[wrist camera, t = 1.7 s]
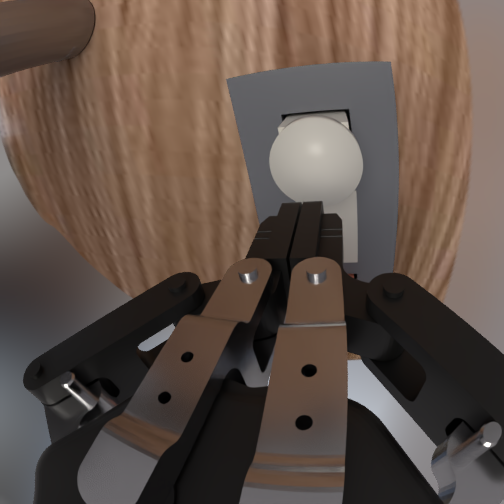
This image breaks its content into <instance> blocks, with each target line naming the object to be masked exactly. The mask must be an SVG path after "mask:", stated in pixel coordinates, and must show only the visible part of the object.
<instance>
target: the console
mask: <svg viewBox="0 0 504 504" xmlns="http://www.w3.org/2000/svg"><path fill="white" fill-rule="evenodd" d="M226 80H227V85H228V89H229V93H230V97H231V101H232V106H233V110H234V114H235V118H236V123H237V127H238V131H239V135H240V140H241V144H242V148H243V153H244V157H245V161H246V166H247V170H248V174H249V179H250V183H251V188H252V192H253V197H254V201H255V206H256V210H257V214H258V219H259V223H260V224H261V223H262V222H263V221H264V220H265V219H266V218H268V217H269V216H277V215H278V212H279V209H280V207H281V204H282V203H290V202H296V201H294V200H292V199H291V198H289V197H288V196H287V195H286V194H284V193H283V192H282V191H281V190H280V188H279V187H278V186H277V184H276V183H275V181H274V179H273V177H272V174H271V170H270V164H269V157H270V151H271V148H272V145H273V143H274V141H275V139H276V138H277V136H278V135H279V132H278V127H279V125H280V124H281V123H282V122H283V121H284V120H285V118H286V117H287V116H288V115H289V114H291V113H301V112H311V111H323V110H338V109H344V110H345V113H346V116H347V120H348V125H349V130H350V131H351V132H352V133H353V135H354V136H355V138H356V140H357V142H358V144H359V147H360V151H361V154H362V159H363V172H362V176H361V180H360V182H359V184H358V186H357V187H356V189H355V190H354V191H353V193H352V194H351V195H350V196H348V197H347V198H346V199H344V200H343V201H341V202H339V203H337V204H334V205H330V206H325V207H323V208H324V214H327V213H337V214H338V216H339V217H340V218H341V219H342V226H343V252H344V260H343V269H344V270H345V272H346V273H347V274H354V279H357V280H360V281H363V282H368V283H369V282H370V281H371V280H372V279H373V278H374V277H376V276H378V275H380V274H384V273H393V266H394V257H395V246H396V233H397V218H398V192H399V155H398V129H397V114H396V102H395V92H394V83H393V75H392V68H391V62H344V63H328V64H316V65H307V66H298V67H290V68H283V69H276V70H270V71H264V72H258V73H253V74H248V75H243V76H238V77H233V78H229V79H226ZM285 320H286V315H285ZM285 320H284V324H285Z"/></svg>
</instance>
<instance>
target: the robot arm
mask: <svg viewBox="0 0 504 504" xmlns="http://www.w3.org/2000/svg"><path fill="white" fill-rule="evenodd" d="M93 27H94V10H93V7H92V5H91V3H90V2H89V1H88V0H13V1H6V2H0V77H3V76H6V75H9V74H12V73H15V72H18V71H21V70H25V69H28V68H32V67H36V66H40V65H44V64H48V63H52V62H58V61H62V60H66V59H70V58H73V57H75V56H76V55H78V54H79V53H80V52H81V51H82V50H83V49H84V47H85V46H86V44H87V43H88V41H89V39H90V36H91V34H92V31H93ZM343 260H344V252H343V226H342V219H341V218H340V217H339V216H338V214H337V213H327V214H324V208H323V202H322V201H308V202H303V204H302V202H290V203H282V204H281V207H280V209H279V212H278V215H277V216H269V217H268V218H266V219H265V220H264V221H263V222H262V223H261V224H260V227H259V229H258V231H257V233H256V236H255V240H253V242H252V245H251V247H250V249H249V251H248V254H247V256H246V258H245V259H243V260H241V261H238V262H236V263H235V264H233V265H232V266H231V267H230V268H229V269H228V270H227V272H226V273H225V275H224V277H223V278H222V280H218V281H213V282H209V283H204V284H201V282H200V279H199V277H198V276H197V275H196V274H194V273H191V272H182V273H178V274H175V275H173V276H171V277H169V278H167V279H166V280H164V281H162V282H161V283H159V284H157V285H155V286H154V287H152V288H150V289H149V290H147V291H145V292H144V293H142V294H140V295H139V296H137V297H135V298H134V299H132V300H130V301H129V302H127V303H125V304H124V305H122V306H120V307H119V308H117V309H115V310H114V311H112V312H111V313H109V314H107V315H105V316H104V317H102V318H101V319H99V320H97V321H96V322H94V323H92V324H91V325H89V326H87V327H86V328H84V329H82V330H81V331H79V332H78V333H76V334H74V335H73V336H71V337H70V338H68V339H66V340H65V341H63V342H62V343H60V344H58V345H57V346H55V347H53V348H52V349H50V350H49V351H47V352H46V353H44V354H42V355H41V356H39V357H38V358H36V359H35V360H33V361H32V362H31V363H30V365H29V366H28V367H27V369H26V371H25V373H24V378H23V383H24V386H25V388H26V389H27V390H28V391H30V392H31V393H32V394H33V395H34V396H35V397H36V398H38V399H39V400H40V401H41V403H42V404H43V405H44V408H45V414H46V419H47V424H48V429H49V434H50V438H51V442H52V444H51V445H50V446H49V447H48V448H46V450H45V451H44V452H43V453H42V455H41V457H40V459H39V461H38V464H37V466H36V472H35V492H34V493H35V494H34V501H33V504H500V503H501V501H502V500H503V499H504V354H502V353H501V352H500V351H499V350H498V349H497V348H496V347H495V346H493V345H492V344H491V343H490V342H489V341H488V340H487V339H485V338H484V337H483V336H482V335H481V334H479V333H478V332H477V331H476V330H475V329H474V328H472V327H471V326H470V325H469V324H468V323H467V322H465V321H464V320H463V319H462V318H460V317H459V316H458V315H457V314H456V313H454V312H453V311H452V310H451V309H449V308H448V307H447V306H446V305H444V304H443V303H442V302H441V301H439V300H438V299H437V298H435V297H434V296H433V295H432V294H430V293H429V292H428V291H426V290H425V289H424V288H422V287H421V286H420V285H418V284H417V283H416V282H414V281H413V280H412V279H410V278H409V277H407V276H405V275H402V274H399V273H384V274H380V275H378V276H376V277H374V278H373V279H372V280H371V281H370V282H369V283H368V282H363V281H360V280H357V279H354V278H353V277H351V276H349V275H348V274H347V273H346V272H345V270H344V269H343ZM285 315H286V320H285ZM284 320H285V324H284ZM172 323H173V324H174V326H175V329H174V331H173V332H172V334H171V336H170V337H169V339H168V340H166V341H164V342H163V343H161V344H159V345H158V346H156V347H155V348H153V349H151V350H149V351H141V350H139V349H138V346H139V344H140V343H141V342H143V341H145V340H146V339H148V338H149V337H151V336H153V335H154V334H156V333H158V332H159V331H161V330H162V329H164V328H166V327H167V326H169V325H171V324H172ZM347 352H350V353H354V354H357V355H360V356H361V359H362V361H363V363H364V364H365V365H366V367H367V368H368V369H369V370H370V371H371V372H372V373H373V374H374V375H375V377H376V378H377V379H378V380H379V381H380V382H381V383H382V384H383V386H384V387H385V388H386V389H387V390H388V391H389V392H390V394H391V395H392V396H393V397H394V398H395V399H396V400H397V401H398V403H399V404H400V405H401V406H402V407H403V408H404V409H405V411H406V412H407V413H408V414H409V415H410V416H411V417H412V418H413V420H414V421H415V422H416V423H417V424H418V425H419V426H420V427H421V429H422V430H423V431H424V432H425V433H426V434H427V436H428V437H429V438H430V439H431V440H432V441H433V442H434V443H435V445H436V446H437V448H436V449H435V451H434V453H433V456H432V461H431V467H432V472H433V474H434V476H435V478H436V480H437V482H438V485H439V493H438V495H437V494H436V492H435V491H434V490H433V488H432V487H431V486H430V484H429V483H428V482H427V480H426V479H425V478H424V476H423V475H422V474H421V473H420V471H419V470H418V469H417V467H416V466H415V465H414V463H413V462H412V461H411V460H410V458H409V457H408V456H407V454H406V453H405V452H404V450H403V449H402V448H401V446H400V445H399V444H398V442H397V441H396V440H395V438H394V437H393V436H392V434H391V433H390V432H389V431H388V429H387V428H386V426H385V425H384V424H383V423H382V421H380V419H379V418H378V417H377V416H376V415H375V414H374V413H373V412H371V411H370V410H369V409H367V408H366V407H365V406H363V405H361V404H359V403H358V402H356V401H353V400H351V399H348V398H347V396H348V393H347V392H348V390H347V389H348V388H347V387H348V383H347V382H348V376H347V375H348V374H347V373H348V371H347ZM270 373H271V374H270ZM269 376H270V380H269V385H268V379H269ZM267 385H268V386H267Z"/></svg>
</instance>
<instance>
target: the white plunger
mask: <svg viewBox="0 0 504 504" xmlns="http://www.w3.org/2000/svg"><path fill="white" fill-rule="evenodd" d="M278 132H279V135H278V136H277V138H276V139H275V141H274V143H273V145H272V148H271V151H270V157H269V164H270V170H271V174H272V177H273V179H274V181H275V183H276V184H277V186H278V187H279V188H280V190H281V191H282V192H283V193H284V194H286V195H287V196H288V197H289V198H291V199H292V200H294V201H296V202H302V204H303V202H308V201H322V202H323V207H325V206H330V205H334V204H337V203H339V202H341V201H343V200H344V199H346V198H347V197H348V196H350V195H351V194H352V193H353V191H354V190H355V189H356V187H357V186H358V184H359V182H360V180H361V176H362V172H363V159H362V154H361V151H360V147H359V144H358V142H357V140H356V138H355V136H354V135H353V133H352V132H351V131H350V130H349V125H348V120H347V116H346V113H345V110H344V109H338V110H323V111H311V112H301V113H291V114H289V115H288V116H287V117H286V118H285V120H284V121H283V122H282V123H281V124H280V125H279V127H278Z"/></svg>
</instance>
